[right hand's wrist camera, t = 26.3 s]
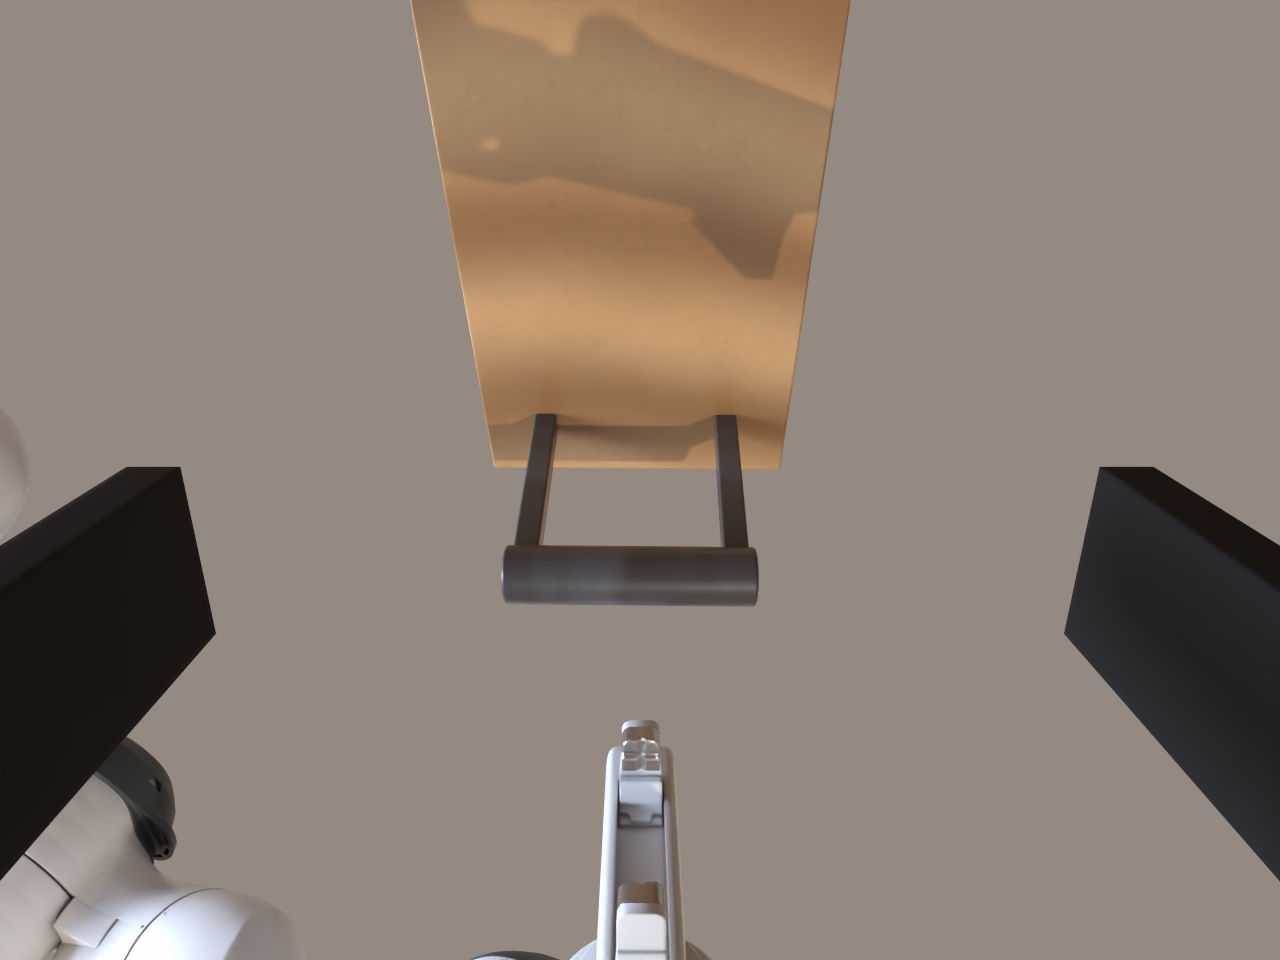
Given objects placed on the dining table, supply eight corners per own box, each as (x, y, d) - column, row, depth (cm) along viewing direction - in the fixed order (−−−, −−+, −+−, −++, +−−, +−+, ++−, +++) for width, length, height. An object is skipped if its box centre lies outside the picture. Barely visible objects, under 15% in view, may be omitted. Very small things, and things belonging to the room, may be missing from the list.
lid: (776, 446, 30) (804, 647, 24) (498, 444, 30) (458, 643, 24) (861, -144, 18) (959, -35, 12) (398, -141, 18) (268, -32, 12)
